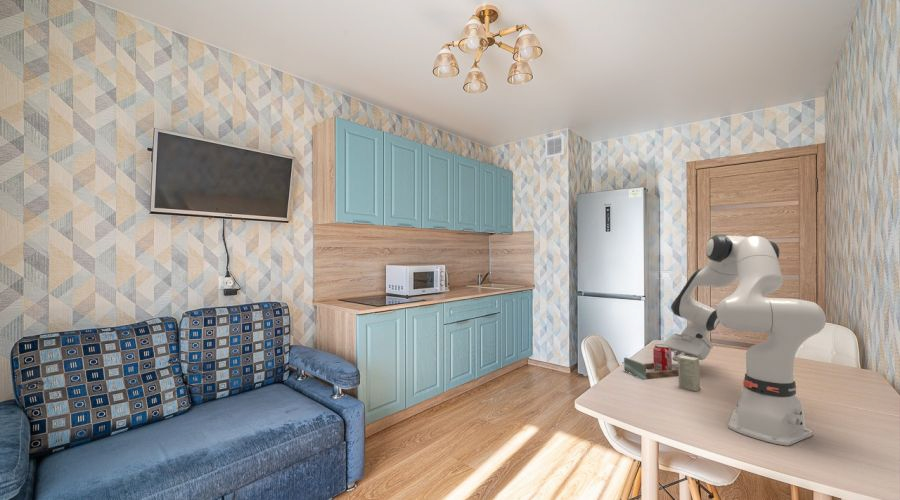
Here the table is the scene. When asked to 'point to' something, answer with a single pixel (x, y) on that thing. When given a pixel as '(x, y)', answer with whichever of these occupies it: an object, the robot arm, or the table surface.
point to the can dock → (641, 368)
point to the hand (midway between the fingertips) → (675, 360)
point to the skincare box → (689, 373)
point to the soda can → (662, 357)
